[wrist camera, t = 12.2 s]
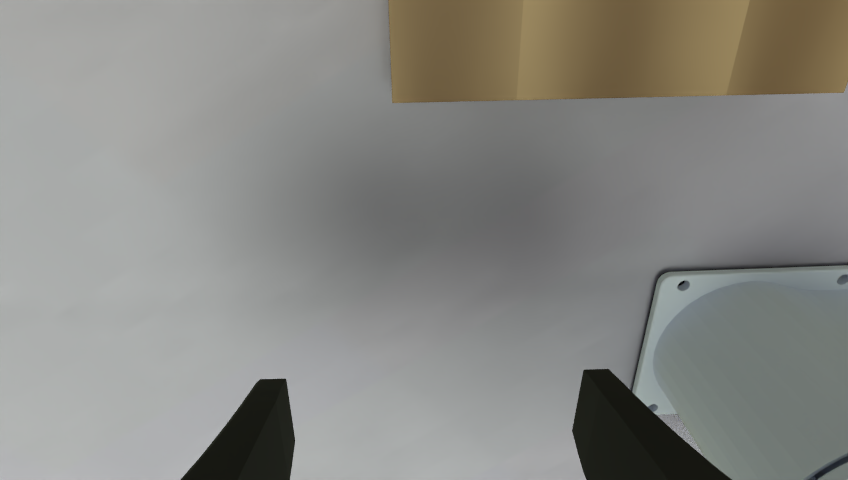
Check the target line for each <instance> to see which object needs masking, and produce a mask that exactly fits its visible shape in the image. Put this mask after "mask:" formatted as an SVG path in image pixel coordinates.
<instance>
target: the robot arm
mask: <svg viewBox="0 0 848 480" xmlns="http://www.w3.org/2000/svg"><path fill="white" fill-rule="evenodd" d="M840 276H841V277H840ZM839 277H840V278H839ZM838 278H839V279H838ZM681 281H685V282H684V284H682V285H680V286H678V284H679V283H680V282H681ZM650 405H651V406H650ZM662 414H678V416H679V417H680V419H681V420H682V422H683V423H684V425H685V427H686V428H687V430H688V431H689V433H690V434H691V436H692V438H693V439H694V441H695V442H696V444H697V445H698V447H699V449H700V450H701V452H702V453H703V455H704V456H705V458H704V457H703V456H702V455H701V454H700V453H698V452H697V451H696V450H695V449H693V448H692V447H691V446H690V445H689V444H688V443H687V442H685V441H684V440H683V439H682V438H681V437H680V436H679V435H677V434H676V433H675V432H674V431H673V430H672V429H671V428H670V427H669V426H667V425H666V424H665V423H664V422H663V421H662V420H661V419H660V418H659V417H658V416H657V415H662ZM572 432H573V435H574V439H575V443H576V447H577V451H578V455H579V458H580V462H581V465H582V469H583V472H584V474H585V477H586V479H587V480H848V265H843V266H815V267H788V268H761V269H734V270H707V271H679V272H667V273H665V274H663V275H662V276H661V277H660V278H659V279H658V281H657V284H656V289H655V293H654V298H653V302H652V306H651V311H650V315H649V320H648V324H647V328H646V333H645V337H644V342H643V346H642V351H641V355H640V359H639V364H638V368H637V373H636V377H635V382H634V386H633V390H632V391H631V390H629V389H628V388H627V387H626V386H625V385H624V384H623V383H622V382H621V381H620V380H619V379H618V378H617V377H616V376H615V375H614V374H613V373H612V372H611V371H610V370H609V369H595V370H584V371H583V376H582V382H581V387H580V392H579V397H578V403H577V408H576V413H575V419H574V424H573V429H572ZM294 445H295V437H294V430H293V423H292V416H291V409H290V403H289V396H288V389H287V382H286V379H260V380H259V381H258V382H257V383H256V384H255V385H254V387H253V388H252V390H251V391H250V393H249V394H248V396H247V397H246V398H245V400H244V401H243V403H242V404H241V405H240V407H239V408H238V409H237V411H236V412H235V414H234V415H233V416H232V418H231V419H230V420H229V422H228V423H227V424H226V426H225V427H224V428H223V429H222V431H221V432H220V433H219V434H218V436H217V437H216V438H215V440H214V441H213V442H212V443H211V445H210V446H209V447H208V448H207V450H206V451H205V452H204V453H203V454H202V456H201V457H200V458H199V459H198V460H197V461H196V463H195V464H194V465H193V466H192V467H191V468H190V470H189V471H188V472H187V473H186V474H185V475H184V476H183V478H182V479H181V480H290V474H291V467H292V460H293V452H294Z"/></svg>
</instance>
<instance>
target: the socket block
mask: <svg viewBox="0 0 848 480" xmlns="http://www.w3.org/2000/svg"><path fill="white" fill-rule="evenodd" d="M388 1H389V27H390V53H391V79H392V103H411V102H454V101H498V100H542V99H585V98H629V97H673V96H716V95H760V94H804V93H844V91H845V88H846V85H847V82H848V0H388Z"/></svg>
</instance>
